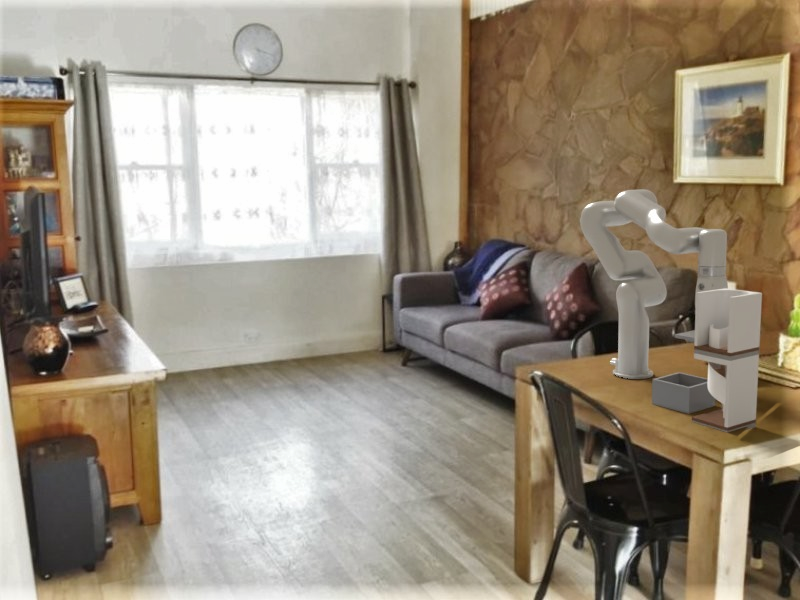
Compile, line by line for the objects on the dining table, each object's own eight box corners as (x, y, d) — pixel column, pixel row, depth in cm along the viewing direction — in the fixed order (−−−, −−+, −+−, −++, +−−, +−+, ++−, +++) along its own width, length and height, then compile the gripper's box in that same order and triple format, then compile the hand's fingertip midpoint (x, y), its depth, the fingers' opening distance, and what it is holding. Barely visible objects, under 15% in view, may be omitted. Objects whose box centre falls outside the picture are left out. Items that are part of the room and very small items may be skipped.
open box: (651, 406, 217) (652, 379, 215) (678, 398, 223) (679, 372, 222) (688, 416, 207) (689, 388, 206) (715, 408, 213) (716, 380, 212)
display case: (719, 416, 206) (724, 288, 201) (755, 426, 197) (762, 292, 192) (691, 424, 200) (696, 292, 195) (727, 435, 191) (733, 297, 186)
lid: (674, 341, 227) (675, 314, 226) (702, 334, 235) (703, 309, 233) (716, 348, 215) (717, 320, 214) (745, 341, 223) (746, 314, 222)
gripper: (705, 275, 214) (704, 339, 217) (740, 270, 223) (737, 331, 226) (682, 273, 220) (681, 335, 223) (717, 268, 230) (715, 328, 232)
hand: (709, 333), depth 225 cm, fingers closed on lid, 3 cm apart
